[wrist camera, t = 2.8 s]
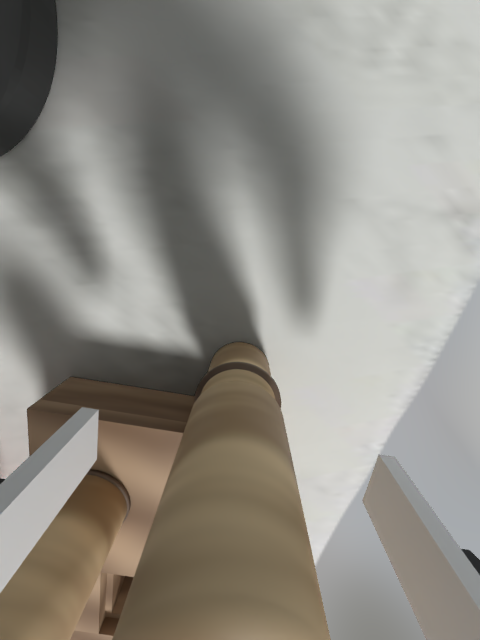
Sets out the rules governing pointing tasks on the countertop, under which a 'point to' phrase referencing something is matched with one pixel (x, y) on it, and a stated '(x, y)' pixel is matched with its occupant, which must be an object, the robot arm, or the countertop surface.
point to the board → (95, 512)
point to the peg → (228, 523)
